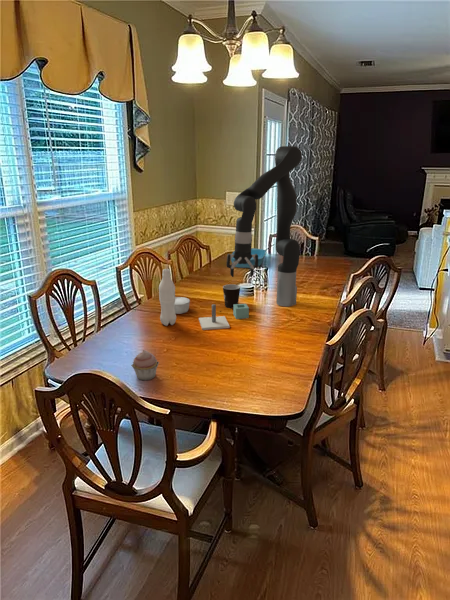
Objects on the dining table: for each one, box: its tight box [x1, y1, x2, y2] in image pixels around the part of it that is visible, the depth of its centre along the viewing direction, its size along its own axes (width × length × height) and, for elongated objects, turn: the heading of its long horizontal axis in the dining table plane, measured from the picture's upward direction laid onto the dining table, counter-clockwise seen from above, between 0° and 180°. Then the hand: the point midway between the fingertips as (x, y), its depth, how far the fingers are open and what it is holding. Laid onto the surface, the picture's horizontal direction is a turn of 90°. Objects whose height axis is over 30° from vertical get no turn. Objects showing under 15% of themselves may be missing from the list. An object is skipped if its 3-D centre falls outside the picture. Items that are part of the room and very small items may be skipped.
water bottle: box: [158, 268, 177, 327], centre depth 196 cm, size 7×7×25 cm
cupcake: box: [131, 349, 160, 381], centre depth 153 cm, size 9×9×10 cm
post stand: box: [198, 303, 231, 331], centre depth 199 cm, size 12×12×9 cm
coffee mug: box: [222, 283, 241, 309], centre depth 222 cm, size 12×9×10 cm
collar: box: [232, 303, 250, 320], centre depth 208 cm, size 6×6×5 cm
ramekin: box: [174, 296, 191, 315], centre depth 215 cm, size 11×11×5 cm
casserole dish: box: [230, 247, 267, 269], centre depth 303 cm, size 37×22×7 cm, turn 170°
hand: (241, 276), depth 204 cm, fingers open, 8 cm apart
